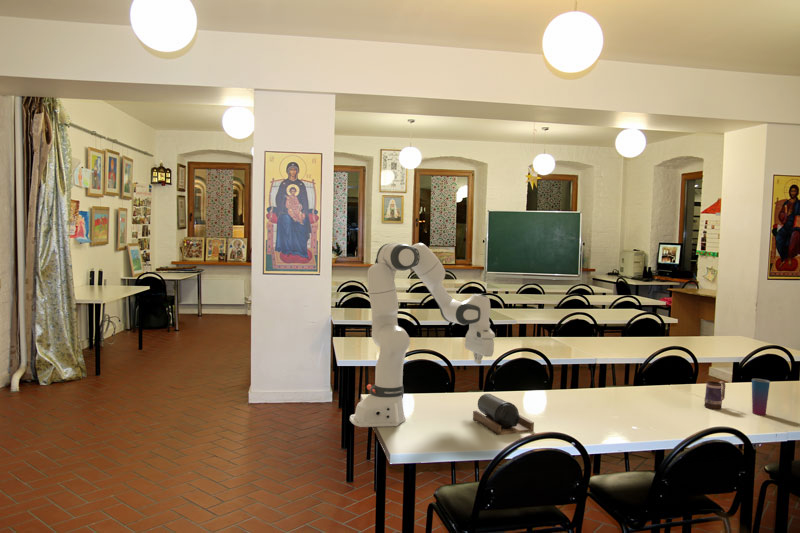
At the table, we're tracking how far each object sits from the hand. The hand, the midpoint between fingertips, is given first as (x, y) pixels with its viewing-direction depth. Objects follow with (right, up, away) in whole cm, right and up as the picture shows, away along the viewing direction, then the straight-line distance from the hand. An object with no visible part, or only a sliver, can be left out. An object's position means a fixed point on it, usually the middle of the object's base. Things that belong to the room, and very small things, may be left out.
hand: (477, 363), depth 248 cm
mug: (+112, -23, +15) cm, 115 cm away
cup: (+126, -24, +6) cm, 129 cm away
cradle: (+7, -22, -20) cm, 30 cm away
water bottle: (+3, -16, -8) cm, 18 cm away
